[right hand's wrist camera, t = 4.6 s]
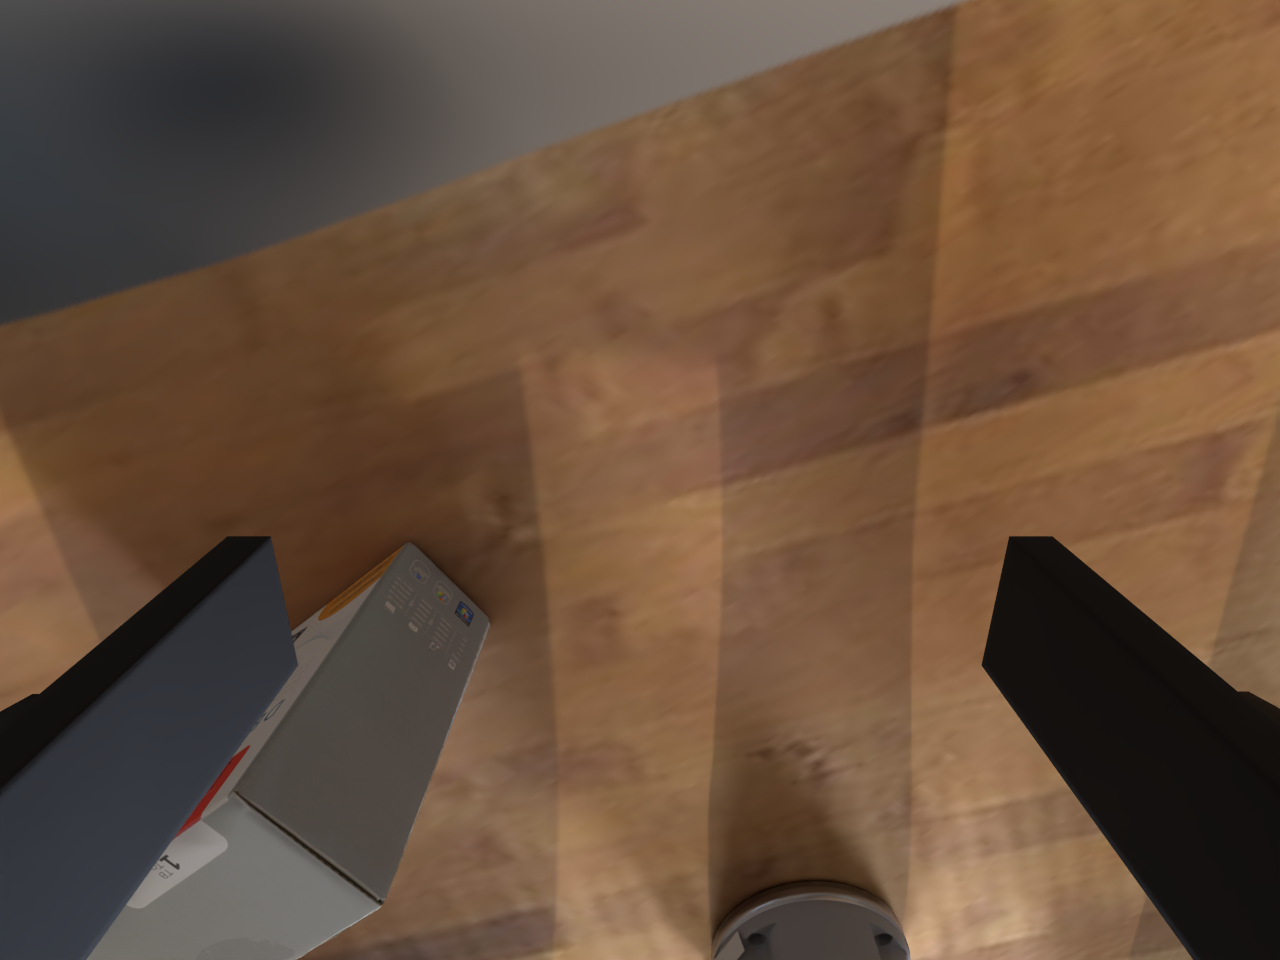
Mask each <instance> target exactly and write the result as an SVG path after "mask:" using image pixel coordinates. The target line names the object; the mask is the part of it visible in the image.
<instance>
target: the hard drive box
mask: <svg viewBox="0 0 1280 960" xmlns="http://www.w3.org/2000/svg"><path fill="white" fill-rule="evenodd" d="M489 627H490V623H489V618H488V617H487V616H486V615H485V614H484V613H483V612H482V611H481V610H480V609H479V608H478V607H477V606H476V605H475V604H474V603H473V602H472V601H471V600H470V599H469V598H468V597H467V596H466V595H465V594H464V593H463V592H462V591H461V590H460V589H459V588H458V587H457V586H456V585H455V584H454V583H453V582H452V581H451V580H450V579H449V578H448V577H447V576H446V575H445V574H444V573H442V572H441V571H440V570H439V569H438V568H437V567H436V566H435V565H434V564H433V563H432V562H431V561H430V560H429V559H428V558H427V557H426V556H425V555H424V554H423V553H422V552H421V551H420V550H419V549H418V548H417V547H416V546H415V545H414V544H412V543H411V542H408V543H406V544H404V545H403V546H402V547H400V548H399V549H398V550H396V551H395V552H394V553H392V554H391V555H390V556H389V557H387V558H386V559H385V560H383V561H382V562H381V563H380V564H378V565H377V566H375V567H374V568H373V569H371V570H370V571H369V572H368V573H366V574H365V575H364V576H363V577H361V578H360V579H359V580H357V581H356V582H355V583H354V584H352V585H351V586H350V587H349V588H347V589H346V590H345V591H343V592H342V593H341V594H339V595H338V596H337V597H336V598H334V599H333V600H332V601H331V602H329V603H328V604H327V605H325V606H324V607H323V608H321V609H320V610H319V611H317V612H316V613H315V614H314V615H312V616H311V617H310V618H309V619H307V620H306V621H305V622H303V623H302V624H301V625H299V626H298V627H297V628H295V629H294V630H293V631H291V634H292V638H293V643H294V648H295V652H296V657H297V661H298V667H297V668H296V669H295V671H294V672H293V673H292V675H291V676H290V678H289V679H288V680H287V682H286V683H285V685H284V686H283V687H282V689H281V690H280V692H279V693H278V694H277V696H276V697H275V698H274V700H273V701H272V703H271V704H270V705H269V707H268V708H267V710H266V711H265V712H264V714H263V715H262V717H261V718H260V719H259V721H258V722H257V723H256V725H255V726H254V728H253V729H252V730H251V732H250V733H249V735H248V736H247V737H246V739H245V740H244V742H243V743H242V744H241V746H240V747H239V748H238V750H237V751H236V753H235V754H234V755H233V757H232V758H231V760H230V761H229V762H228V764H227V765H226V767H225V768H224V769H223V771H222V772H221V773H220V775H219V776H218V778H217V779H216V780H215V782H214V783H213V785H212V786H211V787H210V789H209V790H208V792H207V793H206V794H205V796H204V797H203V798H202V800H201V801H200V803H199V804H198V805H197V807H196V808H195V810H194V811H193V812H192V814H191V815H190V817H189V818H188V819H187V821H186V822H185V824H184V825H183V826H182V828H181V829H180V830H179V832H178V833H177V835H176V836H175V837H174V839H173V840H172V842H171V843H170V844H169V846H168V847H167V849H166V850H165V851H164V853H163V854H162V855H161V857H160V858H159V860H158V861H157V862H156V864H155V865H154V867H153V868H152V869H151V871H150V872H149V874H148V875H147V876H146V878H145V879H144V880H143V882H142V883H141V885H140V886H139V887H138V889H137V890H136V892H135V893H134V894H133V896H132V897H131V899H130V900H129V901H128V903H127V904H126V905H125V907H124V908H123V910H122V911H121V912H120V914H119V915H118V917H117V918H116V919H115V921H114V922H113V924H112V925H111V926H110V928H109V929H108V930H107V932H106V933H105V935H104V936H103V937H102V939H101V940H100V942H99V943H98V944H97V946H96V947H95V949H94V950H93V951H92V953H91V954H90V955H89V957H88V958H87V960H297V959H299V958H300V957H302V956H303V955H305V954H307V953H308V952H310V951H312V950H314V949H315V948H317V947H319V946H320V945H322V944H323V943H325V942H327V941H328V940H330V939H332V938H333V937H335V936H337V935H338V934H340V933H342V932H343V931H345V930H346V929H348V928H349V927H351V926H353V925H354V924H356V923H357V922H359V921H360V920H362V919H364V918H365V917H367V916H368V915H370V914H371V913H373V912H375V911H376V910H378V909H379V908H381V906H382V904H383V902H384V901H385V899H386V897H387V894H388V891H389V889H390V886H391V884H392V881H393V879H394V876H395V874H396V871H397V868H398V866H399V863H400V861H401V860H402V857H403V852H404V850H405V847H406V845H407V842H408V839H409V837H410V834H411V831H412V828H413V826H414V823H415V821H416V818H417V815H418V813H419V810H420V807H421V805H422V802H423V799H424V797H425V794H426V791H427V789H428V786H429V784H430V781H431V778H432V776H433V773H434V771H435V768H436V765H437V763H438V760H439V758H440V755H441V753H442V750H443V747H444V745H445V742H446V740H447V737H448V734H449V732H450V729H451V727H452V724H453V721H454V719H455V716H456V713H457V711H458V708H459V706H460V703H461V700H462V698H463V695H464V693H465V690H466V687H467V685H468V682H469V680H470V677H471V674H472V672H473V669H474V667H475V664H476V661H477V659H478V656H479V654H480V651H481V648H482V646H483V643H484V641H485V638H486V635H487V633H488V630H489Z"/></svg>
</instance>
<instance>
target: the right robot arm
mask: <svg viewBox="0 0 1280 960" xmlns="http://www.w3.org/2000/svg"><path fill="white" fill-rule="evenodd" d="M297 667H298V661H297V657H296V652H295V648H294V643H293V638H292V634H291V629H290V624H289V620H288V615H287V610H286V606H285V601H284V596H283V592H282V587H281V582H280V578H279V573H278V568H277V564H276V559H275V554H274V550H273V545H272V540H271V536H228V537H226V538H225V539H224V540H223V541H222V542H220V543H219V544H218V545H217V546H216V547H214V548H213V549H212V550H211V551H210V552H208V553H207V554H206V555H205V556H204V557H202V558H201V559H200V560H199V561H198V562H197V563H195V564H194V565H193V566H192V567H191V568H189V569H188V570H187V571H186V572H185V573H183V574H182V575H181V576H180V577H179V578H177V579H176V580H175V581H174V582H173V583H171V584H170V585H169V586H168V587H167V588H166V589H164V590H163V591H162V592H161V593H160V594H158V595H157V596H156V597H155V598H154V599H152V600H151V601H150V602H149V603H148V604H146V605H145V606H144V607H143V608H142V609H140V610H139V611H138V612H137V613H136V614H135V615H133V616H132V617H131V618H130V619H129V620H127V621H126V622H125V623H124V624H123V625H121V626H120V627H119V628H118V629H117V630H115V631H114V632H113V633H112V634H111V635H109V636H108V637H107V638H106V639H105V640H103V641H102V642H101V643H100V644H99V645H98V646H96V647H95V648H94V649H93V650H92V651H90V652H89V653H88V654H87V655H86V656H84V657H83V658H82V659H81V660H80V661H78V662H77V663H76V664H75V665H74V666H72V667H71V668H70V669H69V670H68V671H67V672H65V673H64V674H63V675H62V676H61V677H59V678H58V679H57V680H56V681H55V682H53V683H52V684H51V685H50V686H49V687H47V688H46V689H45V690H44V691H43V692H41V693H40V694H32V695H30V696H28V697H26V698H24V699H23V700H21V701H19V702H17V703H15V704H14V705H12V706H10V707H8V708H6V709H4V710H3V711H1V712H0V960H87V958H88V957H89V955H90V954H91V953H92V951H93V950H94V949H95V947H96V946H97V944H98V943H99V942H100V940H101V939H102V937H103V936H104V935H105V933H106V932H107V930H108V929H109V928H110V926H111V925H112V924H113V922H114V921H115V919H116V918H117V917H118V915H119V914H120V912H121V911H122V910H123V908H124V907H125V905H126V904H127V903H128V901H129V900H130V899H131V897H132V896H133V894H134V893H135V892H136V890H137V889H138V887H139V886H140V885H141V883H142V882H143V880H144V879H145V878H146V876H147V875H148V874H149V872H150V871H151V869H152V868H153V867H154V865H155V864H156V862H157V861H158V860H159V858H160V857H161V855H162V854H163V853H164V851H165V850H166V849H167V847H168V846H169V844H170V843H171V842H172V840H173V839H174V837H175V836H176V835H177V833H178V832H179V830H180V829H181V828H182V826H183V825H184V824H185V822H186V821H187V819H188V818H189V817H190V815H191V814H192V812H193V811H194V810H195V808H196V807H197V805H198V804H199V803H200V801H201V800H202V798H203V797H204V796H205V794H206V793H207V792H208V790H209V789H210V787H211V786H212V785H213V783H214V782H215V780H216V779H217V778H218V776H219V775H220V773H221V772H222V771H223V769H224V768H225V767H226V765H227V764H228V762H229V761H230V760H231V758H232V757H233V755H234V754H235V753H236V751H237V750H238V748H239V747H240V746H241V744H242V743H243V742H244V740H245V739H246V737H247V736H248V735H249V733H250V732H251V730H252V729H253V728H254V726H255V725H256V723H257V722H258V721H259V719H260V718H261V717H262V715H263V714H264V712H265V711H266V710H267V708H268V707H269V705H270V704H271V703H272V701H273V700H274V698H275V697H276V696H277V694H278V693H279V692H280V690H281V689H282V687H283V686H284V685H285V683H286V682H287V680H288V679H289V678H290V676H291V675H292V673H293V672H294V671H295V669H296V668H297ZM982 667H983V668H984V669H985V671H986V672H987V673H988V675H989V676H990V678H991V679H992V680H993V682H994V683H995V685H996V686H997V687H998V689H999V690H1000V692H1001V693H1002V694H1003V696H1004V697H1005V698H1006V700H1007V701H1008V703H1009V704H1010V705H1011V707H1012V708H1013V710H1014V711H1015V712H1016V714H1017V715H1018V717H1019V718H1020V719H1021V721H1022V722H1023V723H1024V725H1025V726H1026V728H1027V729H1028V730H1029V732H1030V733H1031V735H1032V736H1033V737H1034V739H1035V740H1036V742H1037V743H1038V744H1039V746H1040V747H1041V748H1042V750H1043V751H1044V753H1045V754H1046V755H1047V757H1048V758H1049V760H1050V761H1051V762H1052V764H1053V765H1054V767H1055V768H1056V769H1057V771H1058V772H1059V773H1060V775H1061V776H1062V778H1063V779H1064V780H1065V782H1066V783H1067V785H1068V786H1069V787H1070V789H1071V790H1072V792H1073V793H1074V794H1075V796H1076V797H1077V798H1078V800H1079V801H1080V803H1081V804H1082V805H1083V807H1084V808H1085V810H1086V811H1087V812H1088V814H1089V815H1090V817H1091V818H1092V819H1093V821H1094V822H1095V824H1096V825H1097V826H1098V828H1099V829H1100V830H1101V832H1102V833H1103V835H1104V836H1105V837H1106V839H1107V840H1108V842H1109V843H1110V844H1111V846H1112V847H1113V849H1114V850H1115V851H1116V853H1117V854H1118V855H1119V857H1120V858H1121V860H1122V861H1123V862H1124V864H1125V865H1126V867H1127V868H1128V869H1129V871H1130V872H1131V874H1132V875H1133V876H1134V878H1135V879H1136V880H1137V882H1138V883H1139V885H1140V886H1141V887H1142V889H1143V890H1144V892H1145V893H1146V894H1147V896H1148V897H1149V899H1150V900H1151V901H1152V903H1153V904H1154V905H1155V907H1156V908H1157V910H1158V911H1159V912H1160V914H1161V915H1162V917H1163V918H1164V919H1165V921H1166V922H1167V924H1168V925H1169V926H1170V928H1171V929H1172V930H1173V932H1174V933H1175V935H1176V936H1177V937H1178V939H1179V940H1180V942H1181V943H1182V944H1183V946H1184V947H1185V949H1186V950H1187V951H1188V953H1189V954H1190V955H1191V957H1192V958H1193V960H1280V709H1279V708H1278V707H1276V706H1274V705H1272V704H1270V703H1268V702H1267V701H1265V700H1263V699H1261V698H1259V697H1257V696H1256V695H1254V694H1252V693H1250V692H1237V691H1236V690H1235V689H1234V688H1233V687H1231V686H1230V685H1229V684H1228V683H1227V682H1225V681H1224V680H1223V679H1222V678H1221V677H1219V676H1218V675H1217V674H1216V673H1215V672H1213V671H1212V670H1211V669H1210V668H1209V667H1208V666H1206V665H1205V664H1204V663H1203V662H1202V661H1200V660H1199V659H1198V658H1197V657H1196V656H1194V655H1193V654H1192V653H1191V652H1190V651H1188V650H1187V649H1186V648H1185V647H1184V646H1182V645H1181V644H1180V643H1179V642H1178V641H1177V640H1175V639H1174V638H1173V637H1172V636H1171V635H1169V634H1168V633H1167V632H1166V631H1165V630H1163V629H1162V628H1161V627H1160V626H1159V625H1157V624H1156V623H1155V622H1154V621H1153V620H1151V619H1150V618H1149V617H1148V616H1147V615H1145V614H1144V613H1143V612H1142V611H1141V610H1140V609H1138V608H1137V607H1136V606H1135V605H1134V604H1132V603H1131V602H1130V601H1129V600H1128V599H1126V598H1125V597H1124V596H1123V595H1122V594H1120V593H1119V592H1118V591H1117V590H1116V589H1114V588H1113V587H1112V586H1111V585H1110V584H1109V583H1107V582H1106V581H1105V580H1104V579H1103V578H1101V577H1100V576H1099V575H1098V574H1097V573H1095V572H1094V571H1093V570H1092V569H1091V568H1089V567H1088V566H1087V565H1086V564H1085V563H1083V562H1082V561H1081V560H1080V559H1079V558H1078V557H1076V556H1075V555H1074V554H1073V553H1072V552H1070V551H1069V550H1068V549H1067V548H1066V547H1064V546H1063V545H1062V544H1061V543H1060V542H1058V541H1057V540H1056V539H1055V538H1054V537H1052V536H1009V540H1008V545H1007V550H1006V554H1005V559H1004V564H1003V568H1002V573H1001V578H1000V582H999V587H998V592H997V596H996V601H995V606H994V610H993V615H992V620H991V624H990V629H989V634H988V638H987V643H986V648H985V652H984V657H983V661H982ZM712 960H911V959H910V952H909V947H908V944H907V941H906V938H905V936H904V933H903V930H902V927H901V924H900V922H899V920H898V918H897V917H896V915H895V914H894V912H893V911H892V910H891V909H890V908H889V907H888V906H887V905H886V904H885V903H884V902H883V901H881V900H880V899H878V898H877V897H875V896H874V895H872V894H870V893H868V892H866V891H864V890H861V889H859V888H856V887H853V886H849V885H845V884H840V883H834V882H822V881H810V882H798V883H791V884H786V885H782V886H778V887H775V888H772V889H769V890H766V891H764V892H761V893H759V894H757V895H755V896H753V897H751V898H749V899H748V900H746V901H744V902H743V903H741V904H740V905H739V906H737V907H736V908H735V909H734V910H733V911H732V912H730V913H729V915H728V916H727V917H726V918H725V919H724V920H723V922H722V923H721V924H720V926H719V928H718V930H717V932H716V934H715V936H714V940H713V943H712Z"/></svg>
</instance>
